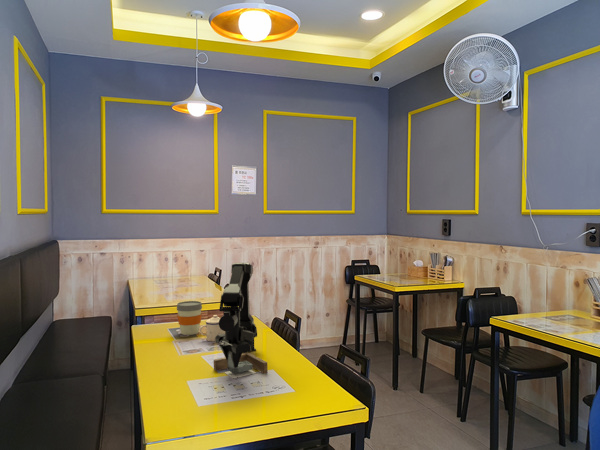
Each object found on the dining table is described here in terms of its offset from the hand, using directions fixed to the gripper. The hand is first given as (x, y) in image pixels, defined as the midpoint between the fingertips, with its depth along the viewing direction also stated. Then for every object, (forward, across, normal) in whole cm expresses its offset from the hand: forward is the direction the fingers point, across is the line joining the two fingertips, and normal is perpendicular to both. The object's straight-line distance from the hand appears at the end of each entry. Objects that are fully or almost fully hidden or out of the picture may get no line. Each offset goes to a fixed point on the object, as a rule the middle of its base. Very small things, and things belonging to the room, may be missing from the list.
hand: (232, 365), depth 174 cm
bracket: (+2, 0, -3) cm, 4 cm away
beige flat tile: (+4, 0, -3) cm, 5 cm away
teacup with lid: (+4, +49, -13) cm, 51 cm away
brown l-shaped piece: (+4, +2, -4) cm, 6 cm away
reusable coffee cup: (+4, +68, -9) cm, 69 cm away
